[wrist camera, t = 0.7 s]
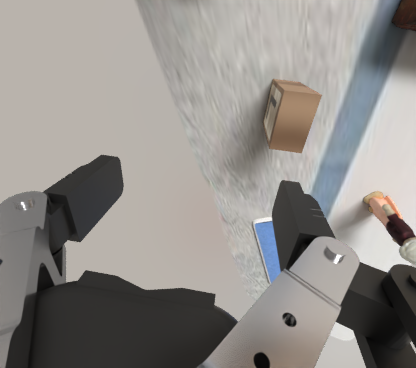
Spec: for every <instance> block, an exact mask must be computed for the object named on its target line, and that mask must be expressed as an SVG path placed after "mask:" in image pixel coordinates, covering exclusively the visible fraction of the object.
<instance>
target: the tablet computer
mask: <svg viewBox="0 0 416 368" xmlns="http://www.w3.org/2000/svg"><path fill="white" fill-rule="evenodd" d="M253 228H254V231H255V235H256V238H257V242H258V245H259V249H260V253H261V256H262V260H263V263H264V267H265V270H266V273H267V277H268V280H269V283H270V284H271V283H272V282H273V281H274V280H275V279H276V277H277V276H278V275H279V274H280V273H281V271H280V265H279V259H278V253H277V247H276V241H275V235H274V229H273V223H272V217H269V218H262V219H256V220H254V221H253Z"/></svg>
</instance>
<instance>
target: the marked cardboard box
mask: <svg viewBox="0 0 416 368" xmlns="http://www.w3.org/2000/svg"><path fill="white" fill-rule="evenodd" d="M321 96H322V95H321V94H319V93H317V92H316V91H314V90H312V89H310V88H309V87H307V86H305V85H303V84H302V83H300V82H293V81H285V80H277V79H273V82H272V86H271V90H270V95H269V99H268V103H267V108H266V112H265V116H264V121H263V126H264V130H265V134H266V137H267V141H268V145H269V149H276V150H283V151H290V152H296V153H302V151H303V148H304V145H305V142H306V139H307V136H308V133H309V130H310V128H311V125H312V122H313V119H314V116H315V113H316V110H317V108H318V105H319V102H320V99H321Z"/></svg>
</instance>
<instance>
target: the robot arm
mask: <svg viewBox="0 0 416 368" xmlns="http://www.w3.org/2000/svg"><path fill="white" fill-rule="evenodd" d="M122 192H123V178H122V170H121V164H120V160H119V158H118V157H114V156H107V155H100V156H99V157H98V158H96V159H95V160H93V161H92V162H90V163H89V164H86V165H84V166H81V167H79V168H77V169H76V170H74V171H73V172H72V174H69V175H67V176H66V177H65V178H63V179H61V180H60V181H58V182H57V183H56V184H54V185H52V186H51V187H49V188H48V189H47V190H45V191H44V192H38V191H31V192H24V193H20V194H16V195H14V196H12V197H9V198H8V199H6V200H4V201H3V202H2V203H1V204H0V368H314V367H315V365H316V363H317V361H318V358H319V356H320V354H321V352H322V349H323V348H324V345H325V343H326V341H327V339H328V336H329V335H330V332H331V330H332V328H333V326H334V324H335V322H337V323H339V324H341V325H343V326H346V327H348V328H350V329H352V330H353V331H354V334H355V337H356V339H357V343H358V345H359V348H360V351H361V354H362V357H363V360H364V363H365V365H366V368H416V354H415V352H414V350H413V348H412V346H411V344H410V342H411V341H412V342H413V344H414V345H415V348H416V268H414V267H412V266H408V265H403V264H398V265H394V266H393V267H392V268H391V269H390V270H389V272H388V273H387V272H384V271H381V270H379V269H376V268H374V267H371V266H368V265H366V264H363V263H361V262H359V258H358V256H357V254H356V253H355V251H354V250H353V249H352V248H350V247H349V246H348V245H347V244H345V243H343V242H342V241H340V240H337V239H336V238H335V236H334V234H333V232H332V230H331V228H330V226H329V224H328V222H327V220H326V218H324V214H323V212H322V211H321V208H320V206H319V204H318V202H317V201H316V200H315V199H314V198H313V197H312V196H310V195H309V194H304V192H303V190H302V188H301V185H300V183H299V182H292V181H285V180H282V181H281V183H280V186H279V189H278V192H277V196H276V199H275V203H274V206H273V211H272V223H273V229H274V235H275V241H276V247H277V253H278V259H279V265H280V271H281V273H280V274H279V275H278V276H277V277H276V279H275V280H274V281H273V282H272V283H271V284H270V286H269V287H268V288H267V289H266V290H265V292H264V293H263V294H262V295H261V296H260V297H259V299H258V300H257V301H256V302H255V303H254V305H253V306H252V307H251V308H250V309H249V310H248V312H247V313H246V314H245V315H244V316H243V317H242V319H241V320H240V321H239V322H238V321H237V320H236V319H235V318H234V317H232V316H231V315H230V314H229V313H227V312H226V311H224V310H223V309H221V308H219V307H217V306H215V305H214V302H215V294H212V293H206V292H201V291H195V290H190V289H185V288H175V289H158V290H144V289H142V288H140V287H138V286H136V285H134V284H132V283H130V282H128V281H125V280H124V279H122V278H120V277H118V276H114V275H108V274H103V273H98V272H92V271H87V270H86V271H85V272H84V273H83V275H82V276H81V277H80V279H79V280H78V281H73V282H67V283H66V248H65V245H64V243H65V242H66V241H67V240H70V241H77V242H81V241H82V240H83V239H84V237H85V236H86V235H87V234H88V233H89V232H90V231H91V229H92V228H93V227H94V226H95V225H96V224H97V223H98V221H99V220H100V219H101V218H102V217H103V216H104V215H105V213H106V212H107V211H108V210H109V209H110V208H111V207H112V205H113V204H114V203H115V202H116V201H117V200H118V198H119V197H120V196H121V194H122Z"/></svg>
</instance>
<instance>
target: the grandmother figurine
mask: <svg viewBox="0 0 416 368" xmlns="http://www.w3.org/2000/svg"><path fill="white" fill-rule="evenodd" d="M364 202H365V203H367V204H370V207H369V212H371V213H373V214H374V215H375V216H376V217H377V218H378V219H379V220H380V221H381V222H382V223H383V225H384V226H385V227H386V230H387V231H388V233H389V234H390V235H391V236H392V237H393V241H394V242H396V243H397V244H398V245H399V246H401V247H400V249H399V252H400V255H401V257H402V258H404V259H405V260H407V261H409V262H410V263H412V264H414V265H416V236H415V235H414V233H413V231H412V229H411V228H410V227H409V226H408V225H407V224H406V223H405V222H404V220H403V218H402V215H401V214H400V212H399V210H398V208H397V206H396V204H395V203H394V202H393V200H392V199H391V198H390V197H389V196H386V197H385V198H384V197H383V194H382V193H381V192H379V191H376V192H373V193H371V194H369V195H368V196H366V197H365V198H364Z"/></svg>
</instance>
